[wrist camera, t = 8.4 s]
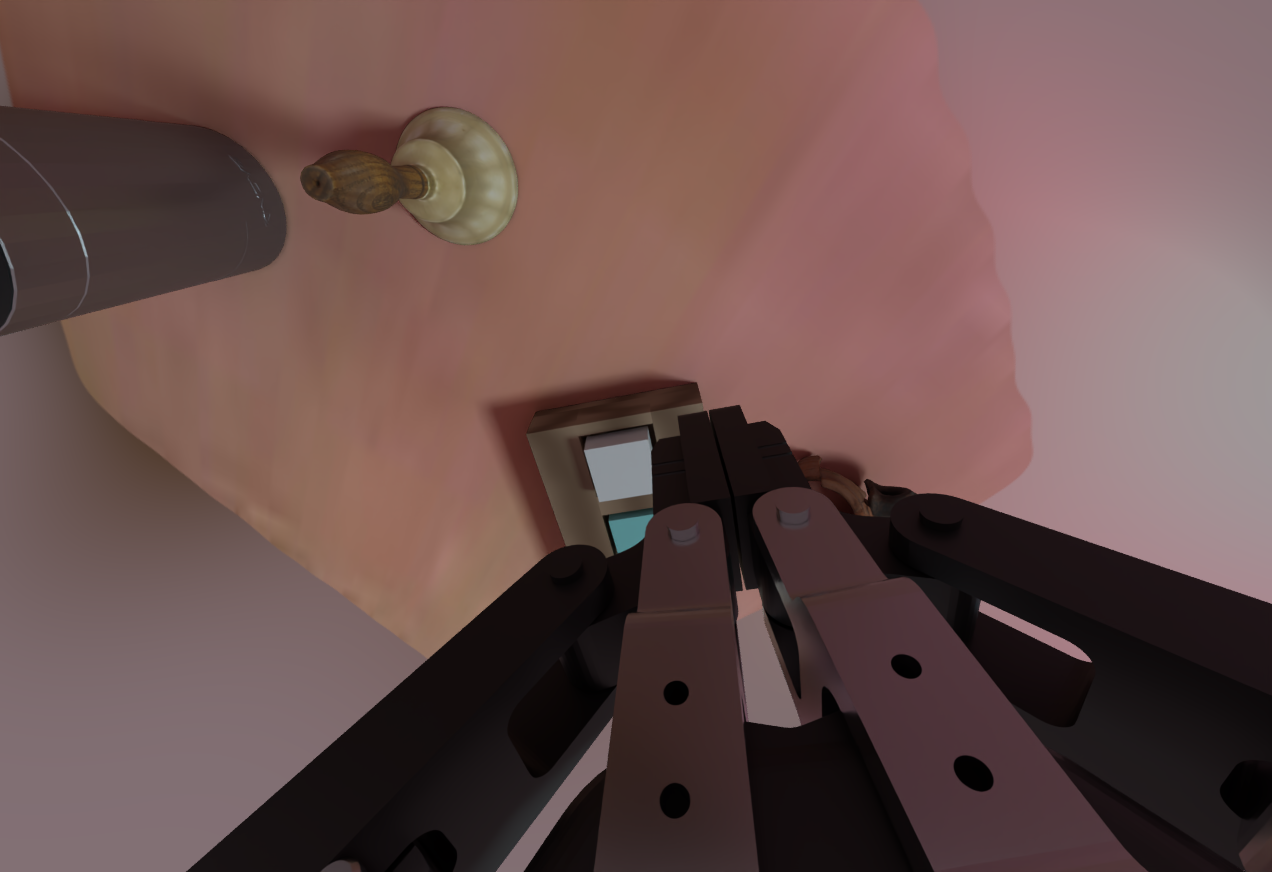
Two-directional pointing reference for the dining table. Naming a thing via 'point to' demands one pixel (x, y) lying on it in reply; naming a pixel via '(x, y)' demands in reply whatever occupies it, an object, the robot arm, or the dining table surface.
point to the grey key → (620, 463)
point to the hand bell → (428, 177)
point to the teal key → (629, 527)
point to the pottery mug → (855, 489)
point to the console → (566, 466)
